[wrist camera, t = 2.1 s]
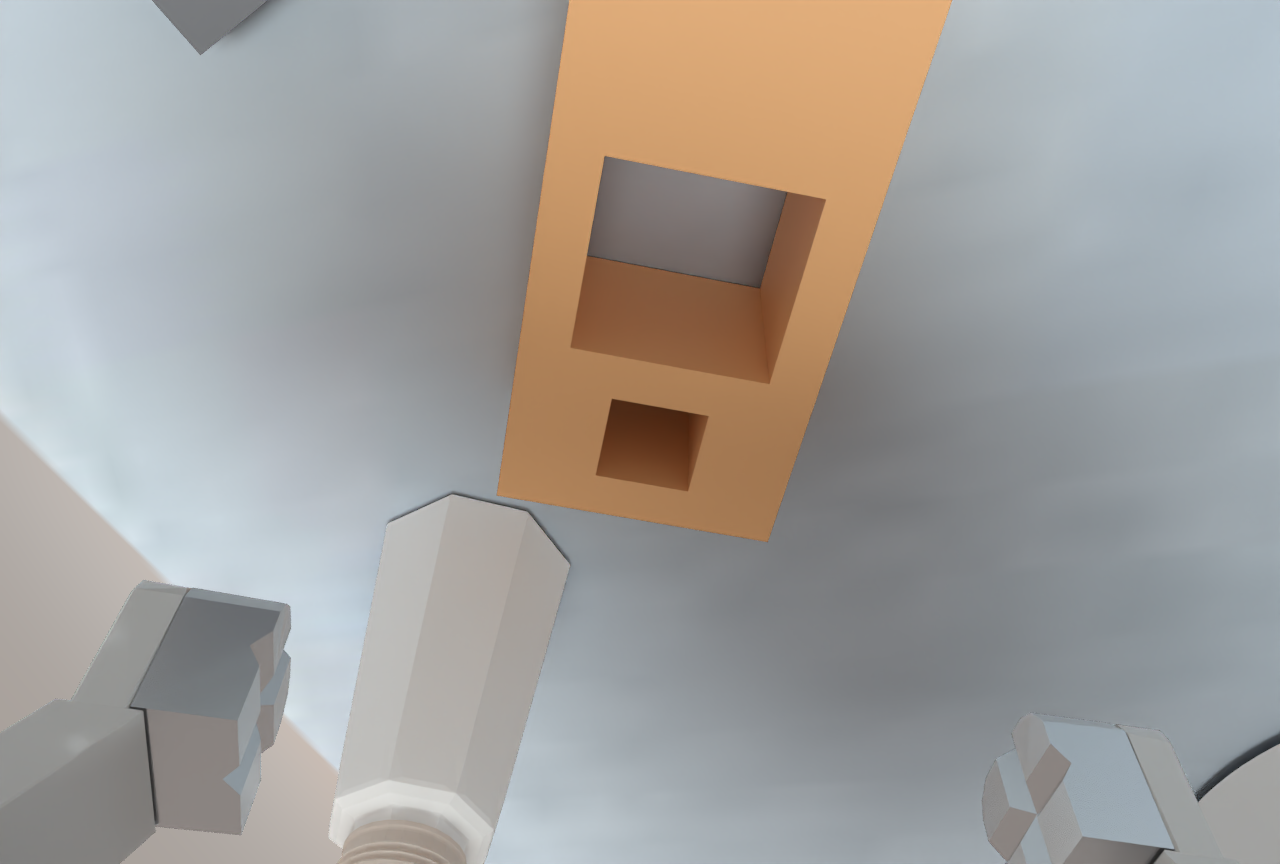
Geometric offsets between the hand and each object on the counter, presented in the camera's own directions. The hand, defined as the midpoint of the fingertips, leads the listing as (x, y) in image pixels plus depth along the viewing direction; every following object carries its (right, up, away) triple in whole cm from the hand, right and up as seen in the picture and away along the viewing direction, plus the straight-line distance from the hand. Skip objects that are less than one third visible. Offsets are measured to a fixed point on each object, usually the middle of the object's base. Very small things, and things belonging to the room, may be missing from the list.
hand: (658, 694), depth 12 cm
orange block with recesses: (+1, +8, +12) cm, 14 cm away
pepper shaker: (-5, -1, +19) cm, 19 cm away
